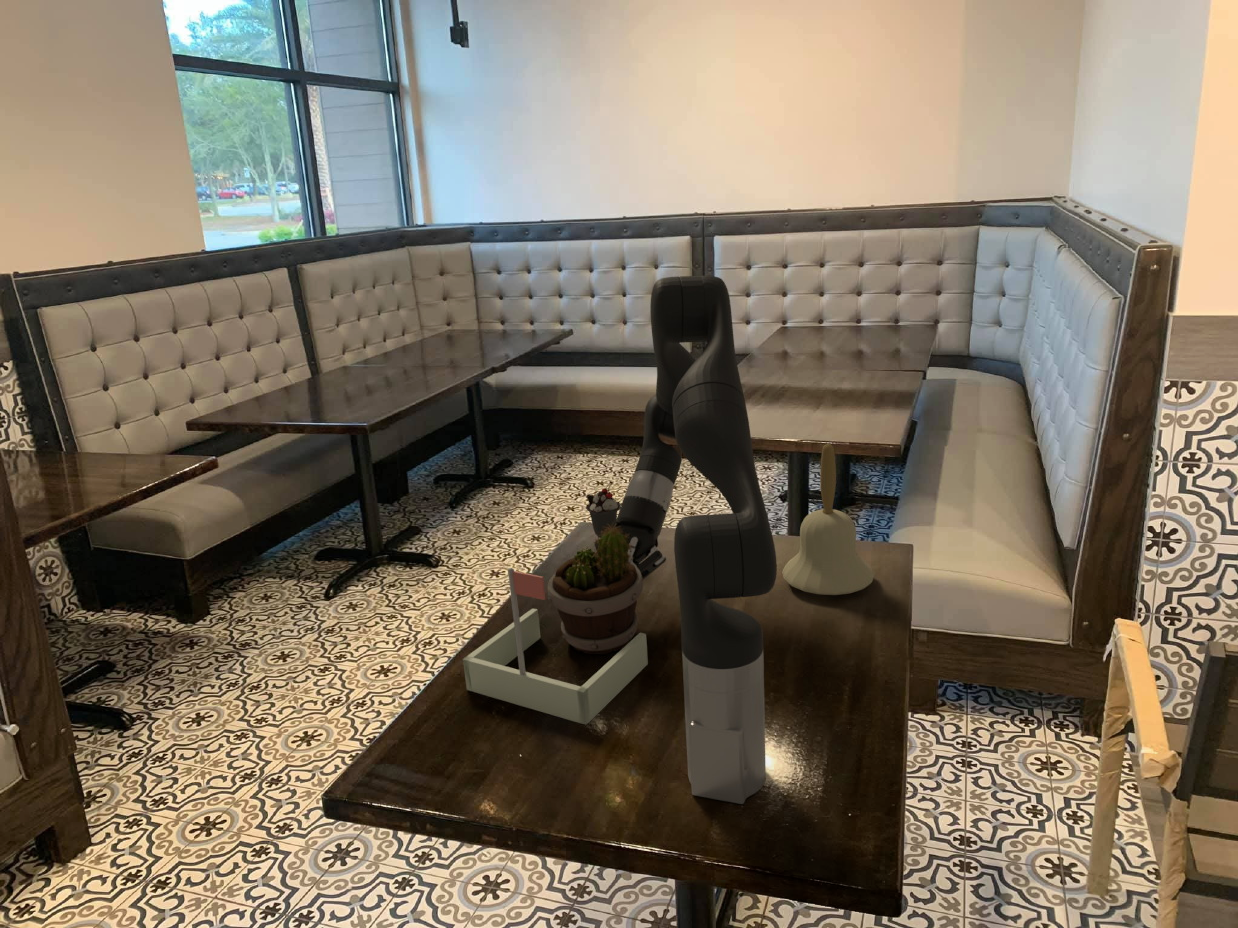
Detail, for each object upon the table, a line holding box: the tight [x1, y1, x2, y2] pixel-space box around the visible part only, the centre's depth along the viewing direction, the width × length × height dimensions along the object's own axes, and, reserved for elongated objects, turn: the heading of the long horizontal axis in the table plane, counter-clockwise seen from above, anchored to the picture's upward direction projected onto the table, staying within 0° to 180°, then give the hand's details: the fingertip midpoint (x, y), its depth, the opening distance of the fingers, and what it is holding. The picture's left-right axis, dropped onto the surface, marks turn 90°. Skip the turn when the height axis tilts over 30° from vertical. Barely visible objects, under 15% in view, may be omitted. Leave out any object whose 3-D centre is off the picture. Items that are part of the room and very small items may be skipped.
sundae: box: [585, 481, 622, 554], centre depth 170 cm, size 7×7×15 cm
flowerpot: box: [547, 522, 644, 655], centre depth 138 cm, size 14×15×20 cm
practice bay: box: [462, 567, 649, 726], centre depth 128 cm, size 17×20×21 cm
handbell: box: [781, 443, 875, 596], centre depth 151 cm, size 15×15×25 cm
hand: (612, 601), depth 143 cm, fingers closed
